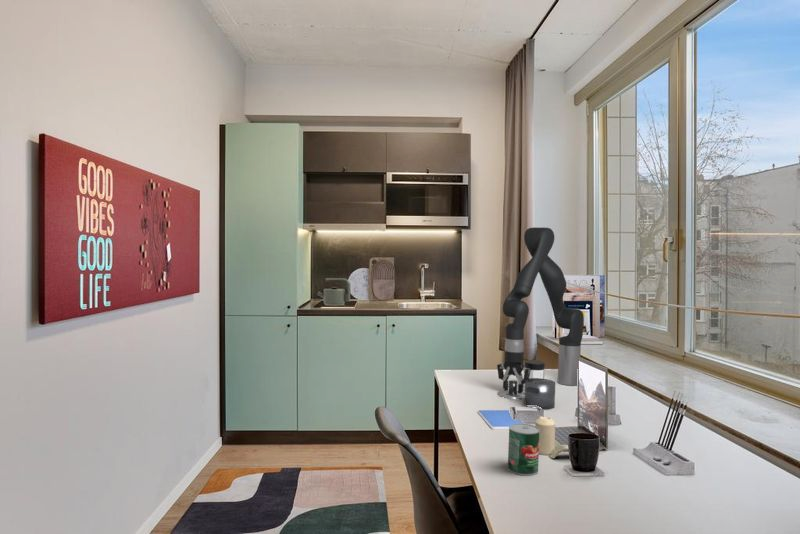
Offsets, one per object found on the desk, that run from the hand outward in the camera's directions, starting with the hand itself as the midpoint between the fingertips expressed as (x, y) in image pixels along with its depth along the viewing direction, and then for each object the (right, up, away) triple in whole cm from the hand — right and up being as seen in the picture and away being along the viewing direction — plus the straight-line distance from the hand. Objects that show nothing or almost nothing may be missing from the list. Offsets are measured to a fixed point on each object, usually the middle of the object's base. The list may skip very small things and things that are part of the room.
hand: (512, 391), depth 216 cm
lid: (0, -2, 0) cm, 2 cm away
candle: (-4, -3, -61) cm, 61 cm away
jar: (+10, -2, +8) cm, 13 cm away
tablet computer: (-11, -3, -32) cm, 34 cm away
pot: (+7, -2, -13) cm, 15 cm away
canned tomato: (-13, -4, -74) cm, 75 cm away
